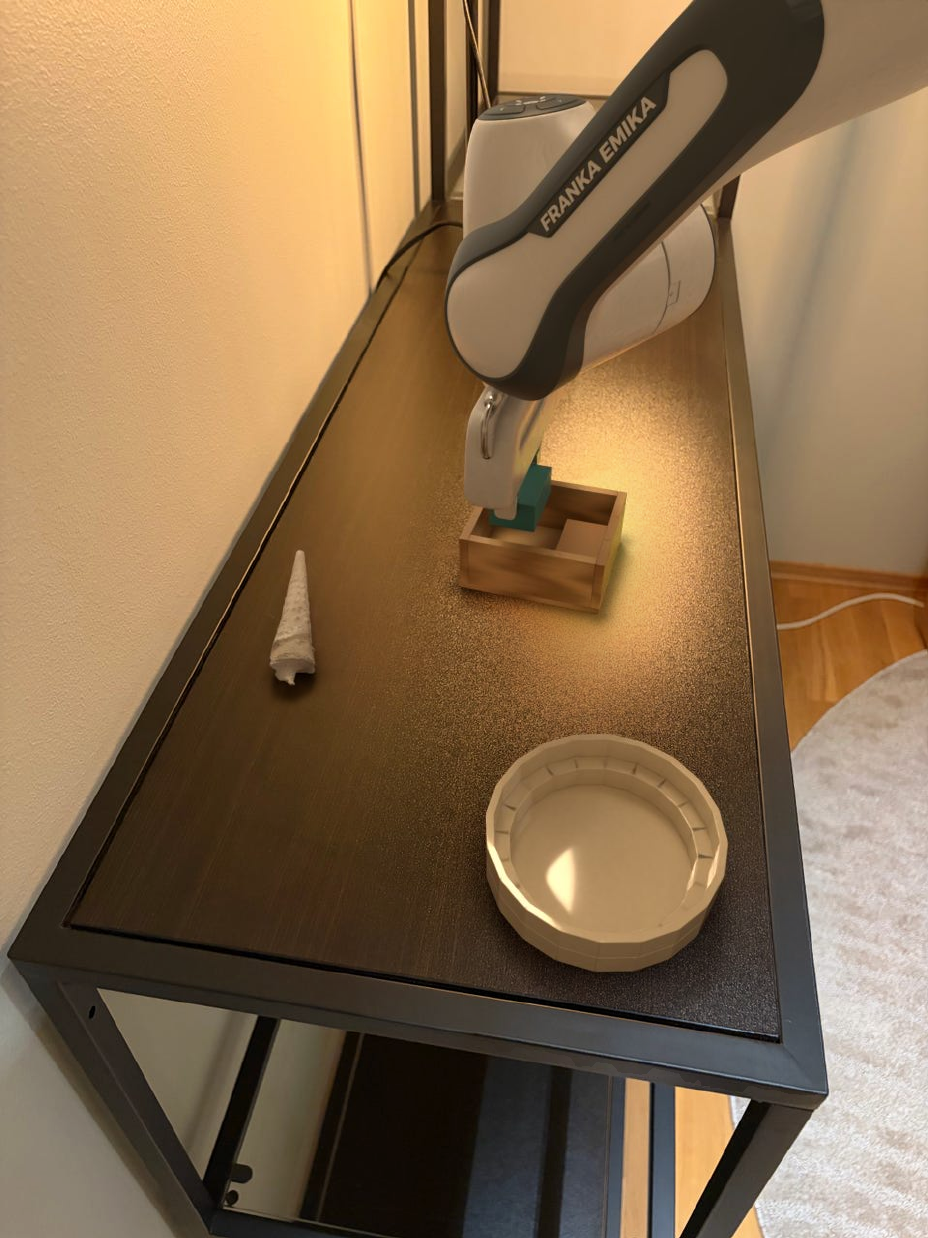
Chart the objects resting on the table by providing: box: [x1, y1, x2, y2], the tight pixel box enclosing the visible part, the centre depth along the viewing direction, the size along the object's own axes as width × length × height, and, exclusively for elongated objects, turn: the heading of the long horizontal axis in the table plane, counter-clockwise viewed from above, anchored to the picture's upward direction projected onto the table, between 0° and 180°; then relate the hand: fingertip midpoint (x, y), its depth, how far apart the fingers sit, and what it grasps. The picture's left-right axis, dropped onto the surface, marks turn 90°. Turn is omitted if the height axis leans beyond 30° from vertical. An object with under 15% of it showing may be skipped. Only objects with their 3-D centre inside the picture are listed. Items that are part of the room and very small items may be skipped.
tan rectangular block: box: [556, 519, 607, 558], centre depth 78 cm, size 4×6×3 cm, turn 162°
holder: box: [458, 479, 628, 615], centre depth 78 cm, size 13×11×6 cm
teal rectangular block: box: [489, 464, 553, 532], centre depth 76 cm, size 4×6×3 cm, turn 162°
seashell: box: [269, 549, 316, 686], centre depth 72 cm, size 14×4×4 cm
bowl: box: [485, 733, 729, 973], centre depth 56 cm, size 15×15×4 cm
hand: (518, 489), depth 75 cm, fingers closed on teal rectangular block, 6 cm apart
